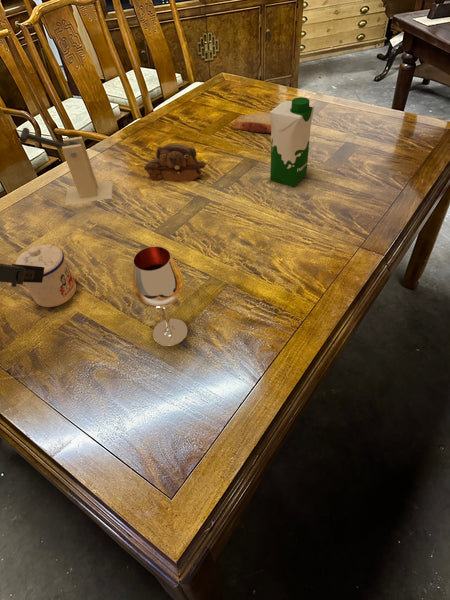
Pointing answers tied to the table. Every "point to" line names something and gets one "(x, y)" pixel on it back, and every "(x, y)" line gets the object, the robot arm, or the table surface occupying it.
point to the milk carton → (290, 140)
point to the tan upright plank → (83, 175)
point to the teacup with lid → (49, 275)
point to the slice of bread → (254, 122)
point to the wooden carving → (175, 163)
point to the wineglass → (159, 290)
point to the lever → (41, 139)
